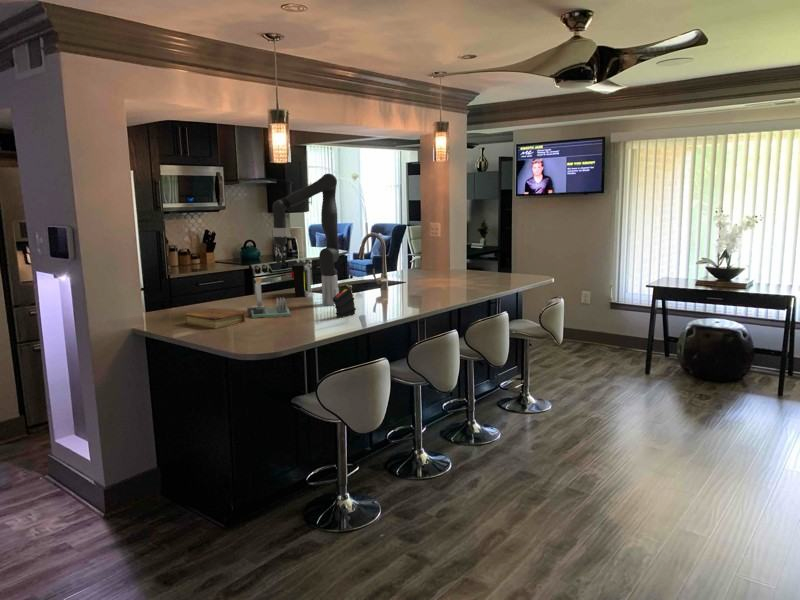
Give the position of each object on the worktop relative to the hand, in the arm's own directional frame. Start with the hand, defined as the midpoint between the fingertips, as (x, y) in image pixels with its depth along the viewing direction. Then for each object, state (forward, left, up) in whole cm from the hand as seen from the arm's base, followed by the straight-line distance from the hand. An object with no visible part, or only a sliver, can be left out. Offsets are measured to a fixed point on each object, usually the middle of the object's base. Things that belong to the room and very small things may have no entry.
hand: (280, 263), depth 350 cm
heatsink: (-1, +25, -24) cm, 35 cm away
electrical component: (+1, -38, -25) cm, 45 cm away
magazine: (-45, +25, -25) cm, 57 cm away
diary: (+15, +52, -25) cm, 60 cm away
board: (-3, +24, -24) cm, 35 cm away
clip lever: (+6, +22, -23) cm, 32 cm away
